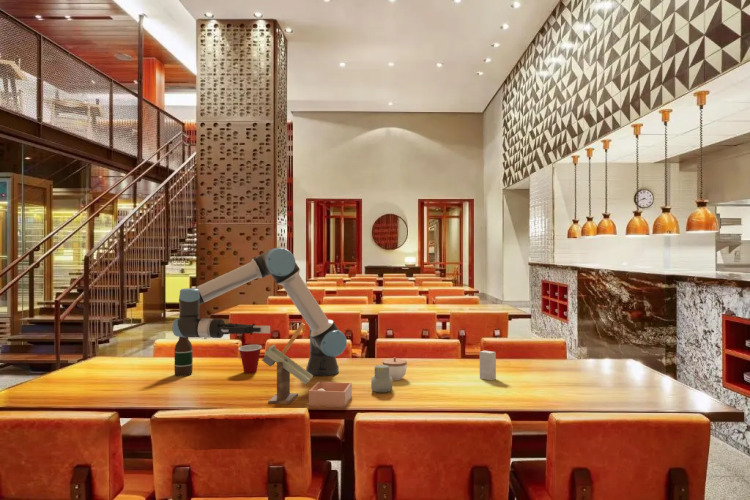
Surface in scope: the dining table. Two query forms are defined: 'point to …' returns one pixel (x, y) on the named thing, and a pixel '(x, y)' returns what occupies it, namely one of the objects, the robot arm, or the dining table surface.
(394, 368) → the lidded jar
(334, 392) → the pink open box
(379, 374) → the air freshener
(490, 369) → the skincare box
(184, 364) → the beer bottle
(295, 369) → the lever
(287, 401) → the stand
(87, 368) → the dining table surface
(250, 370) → the plastic cup
